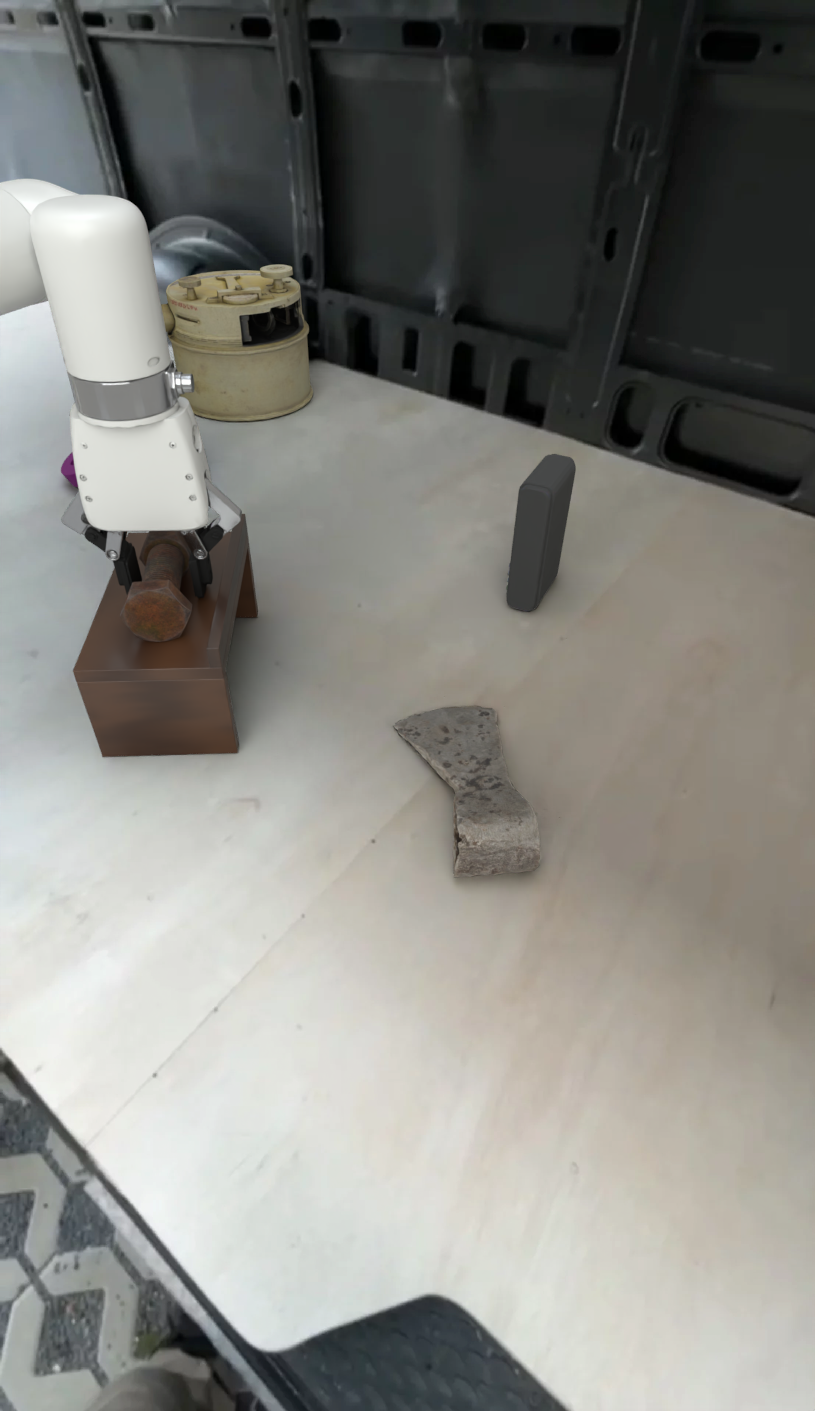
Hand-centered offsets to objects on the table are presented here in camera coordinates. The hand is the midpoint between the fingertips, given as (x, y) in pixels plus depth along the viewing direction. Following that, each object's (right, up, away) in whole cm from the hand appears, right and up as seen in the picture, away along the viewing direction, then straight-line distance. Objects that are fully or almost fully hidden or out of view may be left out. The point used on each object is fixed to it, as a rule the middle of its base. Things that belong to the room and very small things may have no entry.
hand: (168, 588), depth 72 cm
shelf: (0, -8, +7) cm, 10 cm away
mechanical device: (-11, +40, +60) cm, 73 cm away
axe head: (+27, -18, -3) cm, 32 cm away
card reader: (+36, +2, +19) cm, 41 cm away
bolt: (0, 0, 0) cm, 1 cm away
